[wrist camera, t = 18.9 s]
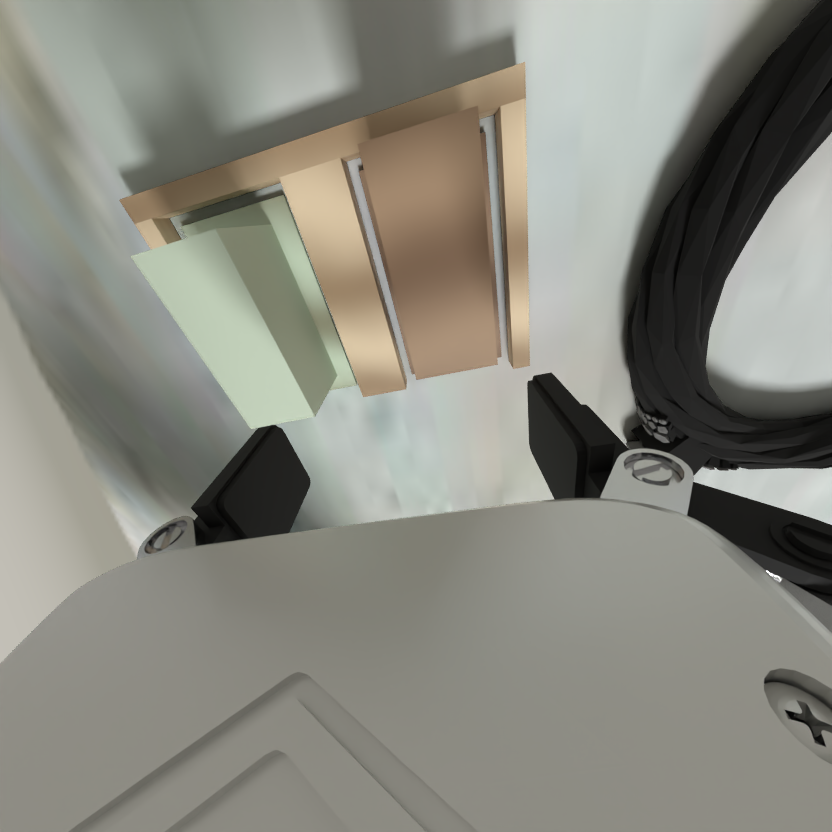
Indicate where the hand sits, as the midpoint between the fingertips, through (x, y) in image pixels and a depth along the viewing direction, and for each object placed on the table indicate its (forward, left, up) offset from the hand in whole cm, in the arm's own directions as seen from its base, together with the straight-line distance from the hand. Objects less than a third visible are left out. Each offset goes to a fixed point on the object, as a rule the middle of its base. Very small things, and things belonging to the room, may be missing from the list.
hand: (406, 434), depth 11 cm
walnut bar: (+4, -2, -9) cm, 11 cm away
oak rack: (+3, +3, -10) cm, 11 cm away
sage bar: (+3, +8, -9) cm, 13 cm away
